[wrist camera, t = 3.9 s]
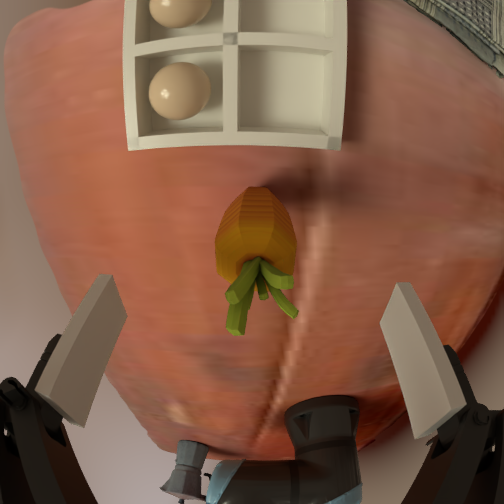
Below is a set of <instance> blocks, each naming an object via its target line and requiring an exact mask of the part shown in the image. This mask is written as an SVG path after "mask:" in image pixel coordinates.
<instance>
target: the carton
mask: <svg viewBox="0 0 504 504" xmlns="http://www.w3.org/2000/svg"><path fill="white" fill-rule="evenodd" d="M149 3H150V0H125V8H124V26H123V87H124V106H125V120H126V132H127V142H128V151H131V150H140V149H151V148H164V147H180V146H204V145H266V146H290V147H306V148H319V149H330V150H341V141H342V130H343V118H344V105H345V89H346V67H347V0H212V5H211V8H210V10H209V12H208V14H207V15H206V16H205V17H204V18H203V19H202V20H201V21H199V22H198V23H196V24H194V25H192V26H189V27H186V28H179V29H175V28H168V27H165V26H162V25H160V24H159V23H158V22H156V21H155V20H154V19H153V17H152V15H151V13H150V9H149ZM176 62H189V63H193V64H195V65H197V66H199V67H200V68H202V69H203V70H204V71H205V72H206V74H207V75H208V77H209V79H210V83H211V95H210V98H209V101H208V103H207V105H206V106H205V107H204V108H203V110H202V111H200V112H199V113H198V114H197V115H195V116H193V117H191V118H188V119H185V120H171V119H167V118H164V117H162V116H161V115H159V114H158V113H157V112H156V111H155V110H154V109H153V107H152V105H151V103H150V100H149V86H150V83H151V81H152V79H153V77H154V76H155V75H156V73H157V72H158V71H159V70H161V69H162V68H163V67H165V66H167V65H169V64H172V63H176Z"/></svg>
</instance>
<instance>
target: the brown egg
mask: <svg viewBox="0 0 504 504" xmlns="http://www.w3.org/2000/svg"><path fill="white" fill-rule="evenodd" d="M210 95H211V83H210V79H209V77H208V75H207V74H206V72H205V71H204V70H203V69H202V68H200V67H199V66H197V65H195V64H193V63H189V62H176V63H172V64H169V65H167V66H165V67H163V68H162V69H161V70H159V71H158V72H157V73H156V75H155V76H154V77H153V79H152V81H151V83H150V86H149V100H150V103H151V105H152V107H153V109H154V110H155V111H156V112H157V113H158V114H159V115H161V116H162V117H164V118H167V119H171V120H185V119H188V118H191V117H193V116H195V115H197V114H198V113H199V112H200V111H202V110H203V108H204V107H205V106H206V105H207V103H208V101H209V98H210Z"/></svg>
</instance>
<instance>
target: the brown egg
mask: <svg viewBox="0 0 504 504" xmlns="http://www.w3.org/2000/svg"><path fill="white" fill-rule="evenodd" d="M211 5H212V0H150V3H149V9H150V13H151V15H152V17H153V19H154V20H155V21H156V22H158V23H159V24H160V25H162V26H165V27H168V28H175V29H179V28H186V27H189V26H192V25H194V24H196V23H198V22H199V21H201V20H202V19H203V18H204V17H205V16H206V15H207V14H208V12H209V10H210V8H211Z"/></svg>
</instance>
